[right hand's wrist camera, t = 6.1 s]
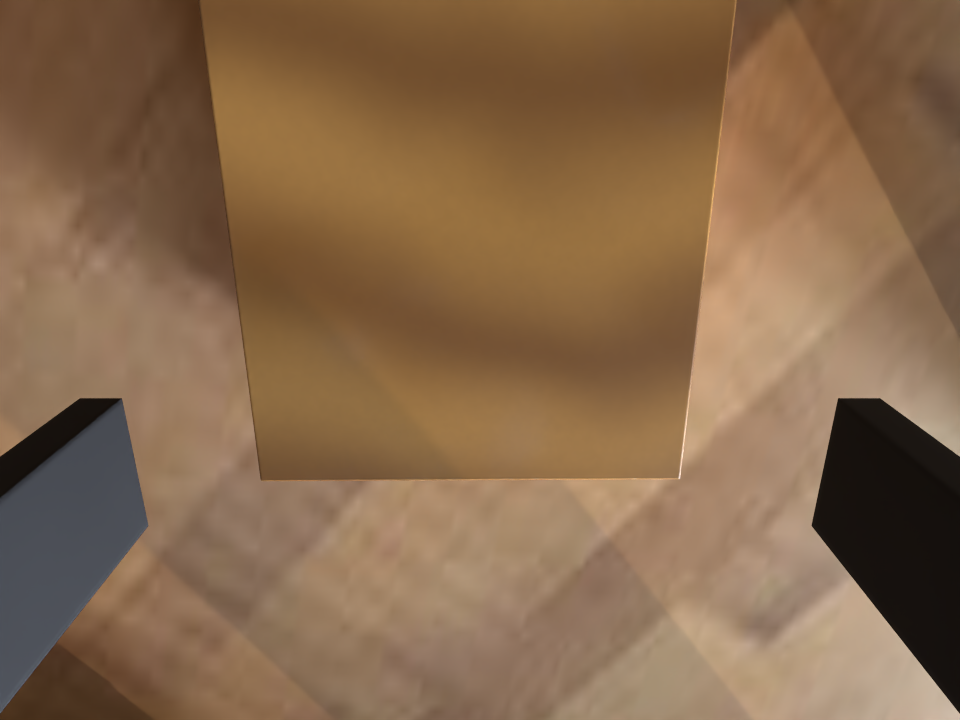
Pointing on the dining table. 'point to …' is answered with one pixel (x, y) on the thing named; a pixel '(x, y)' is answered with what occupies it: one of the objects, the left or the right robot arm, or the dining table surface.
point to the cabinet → (468, 230)
